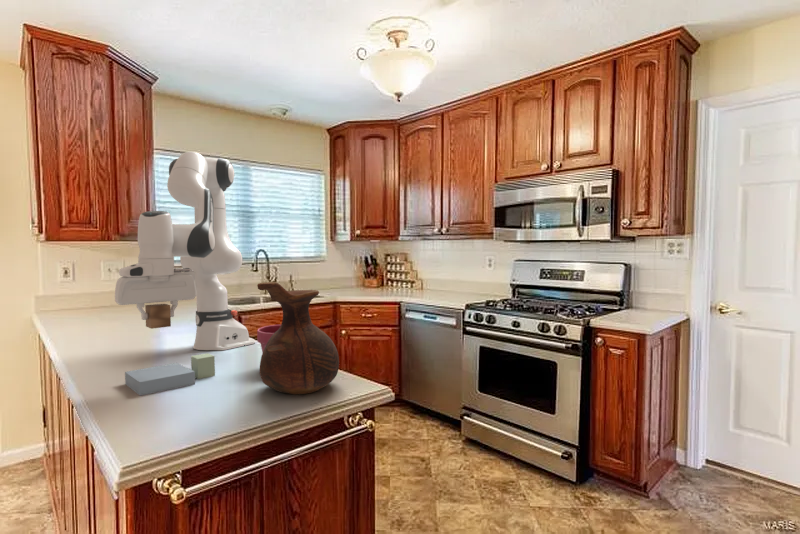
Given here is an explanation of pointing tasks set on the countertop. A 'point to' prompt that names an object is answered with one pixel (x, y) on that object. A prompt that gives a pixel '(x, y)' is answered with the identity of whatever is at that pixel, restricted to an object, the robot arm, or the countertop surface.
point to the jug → (297, 346)
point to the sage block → (203, 365)
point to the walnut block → (158, 315)
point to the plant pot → (266, 334)
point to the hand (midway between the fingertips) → (158, 318)
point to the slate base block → (159, 378)
